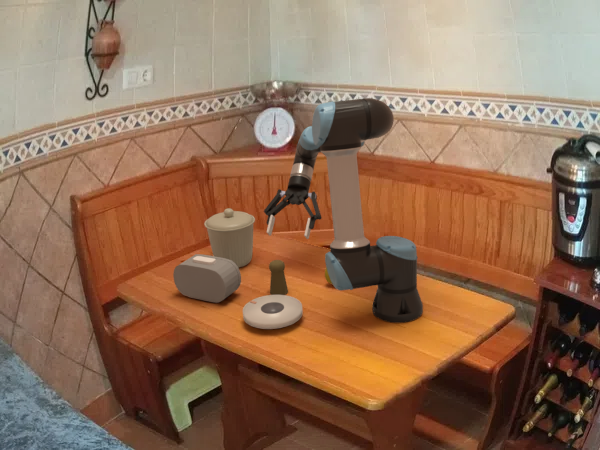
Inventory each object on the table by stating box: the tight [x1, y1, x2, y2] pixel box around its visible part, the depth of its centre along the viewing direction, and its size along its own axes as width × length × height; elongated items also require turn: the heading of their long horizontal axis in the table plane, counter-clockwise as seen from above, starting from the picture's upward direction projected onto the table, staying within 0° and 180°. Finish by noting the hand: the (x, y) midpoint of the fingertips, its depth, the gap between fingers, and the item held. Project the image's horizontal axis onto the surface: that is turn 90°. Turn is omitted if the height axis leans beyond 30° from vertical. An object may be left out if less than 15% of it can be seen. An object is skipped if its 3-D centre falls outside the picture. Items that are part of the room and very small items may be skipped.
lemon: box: [324, 267, 334, 286], centre depth 225 cm, size 6×6×8 cm
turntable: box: [242, 294, 304, 330], centre depth 205 cm, size 18×18×2 cm
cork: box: [268, 259, 289, 295], centre depth 222 cm, size 6×6×11 cm
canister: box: [203, 207, 256, 269], centre depth 244 cm, size 18×18×21 cm
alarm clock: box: [172, 253, 242, 304], centre depth 222 cm, size 21×10×13 cm, turn 61°
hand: (287, 235), depth 228 cm, fingers open, 13 cm apart
